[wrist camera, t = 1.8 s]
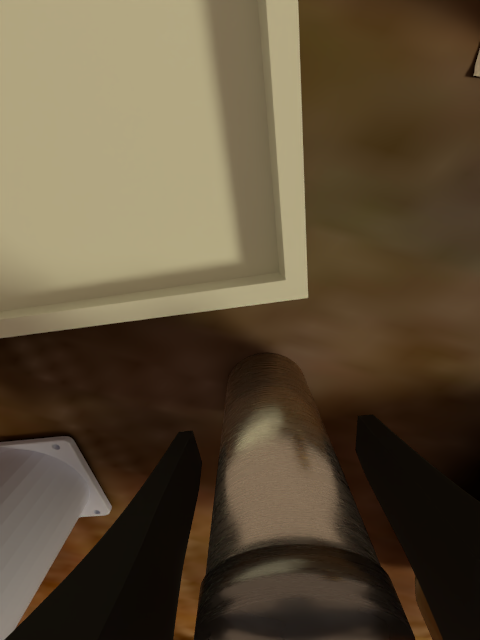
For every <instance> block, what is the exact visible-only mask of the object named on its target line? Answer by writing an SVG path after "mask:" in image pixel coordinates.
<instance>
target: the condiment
mask: <svg viewBox="0 0 480 640" xmlns="http://www.w3.org/2000/svg"><path fill="white" fill-rule="evenodd" d="M473 76H479V77H480V50H479V54H478V57H477V60H476V64H475V72H474V75H473Z"/></svg>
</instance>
